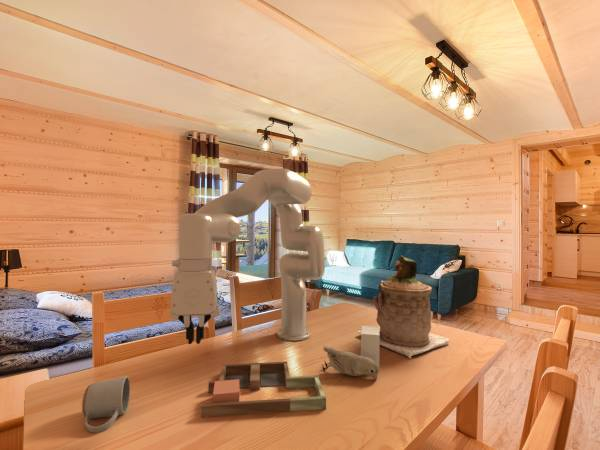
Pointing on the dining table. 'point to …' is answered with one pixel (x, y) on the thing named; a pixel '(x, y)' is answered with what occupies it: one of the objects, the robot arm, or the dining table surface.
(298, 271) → the robot arm
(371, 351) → the small box
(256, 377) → the trap run
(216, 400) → the block
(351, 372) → the decorative bird
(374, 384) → the dining table surface
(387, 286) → the cookie jar
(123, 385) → the ceramic mug
